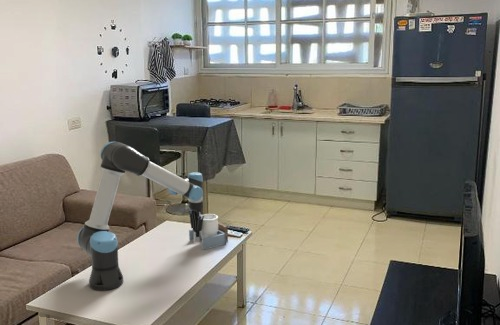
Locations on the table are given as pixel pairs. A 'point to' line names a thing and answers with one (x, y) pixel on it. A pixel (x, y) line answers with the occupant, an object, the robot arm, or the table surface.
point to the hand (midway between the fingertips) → (196, 241)
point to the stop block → (223, 229)
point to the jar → (209, 226)
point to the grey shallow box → (210, 239)
